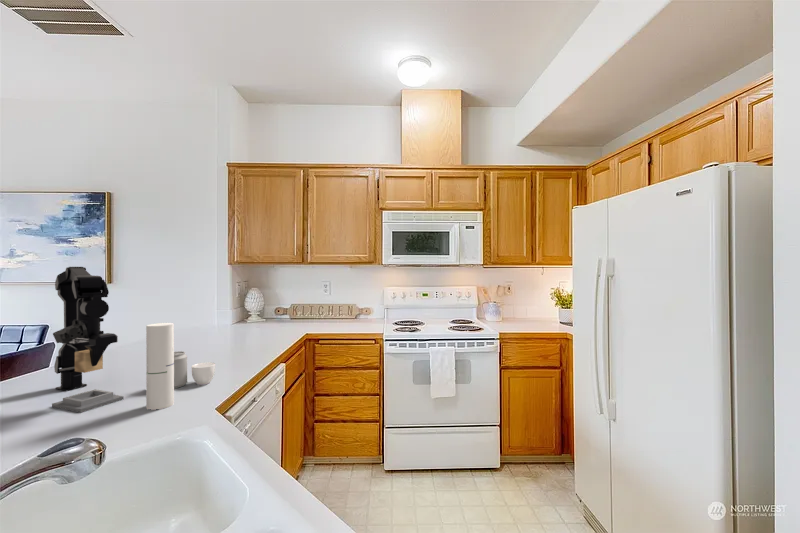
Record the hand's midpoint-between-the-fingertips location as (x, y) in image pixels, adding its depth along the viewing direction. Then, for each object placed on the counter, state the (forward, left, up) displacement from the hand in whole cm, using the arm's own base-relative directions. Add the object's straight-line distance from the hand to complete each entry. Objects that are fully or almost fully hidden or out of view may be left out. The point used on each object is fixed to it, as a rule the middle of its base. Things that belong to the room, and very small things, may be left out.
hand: (88, 365), depth 118 cm
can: (+10, +22, -12) cm, 27 cm away
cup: (+16, +28, -12) cm, 34 cm away
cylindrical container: (+24, +6, -12) cm, 28 cm away
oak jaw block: (0, 0, -2) cm, 2 cm away
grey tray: (0, 0, -12) cm, 12 cm away
